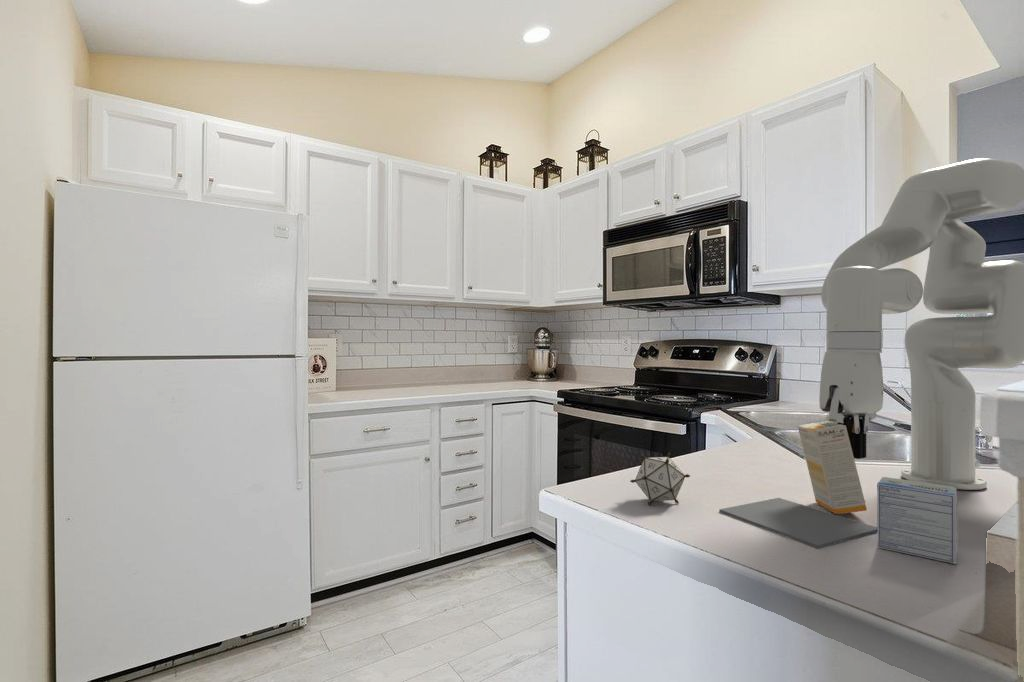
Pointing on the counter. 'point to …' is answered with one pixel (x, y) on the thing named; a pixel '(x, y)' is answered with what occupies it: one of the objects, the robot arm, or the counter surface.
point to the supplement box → (832, 467)
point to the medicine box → (917, 518)
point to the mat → (800, 522)
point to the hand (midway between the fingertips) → (853, 456)
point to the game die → (659, 478)
